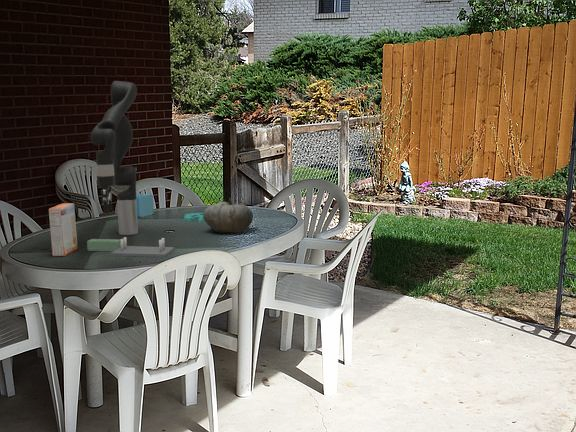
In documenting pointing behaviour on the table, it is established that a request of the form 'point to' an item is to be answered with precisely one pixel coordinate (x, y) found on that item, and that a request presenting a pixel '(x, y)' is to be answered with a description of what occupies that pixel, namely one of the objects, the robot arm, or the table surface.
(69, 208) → the cracker box
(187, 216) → the alien figure
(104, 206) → the robot arm
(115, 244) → the green rectangular block
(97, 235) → the table surface
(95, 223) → the table surface
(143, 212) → the light blue block
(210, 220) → the gourd
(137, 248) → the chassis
